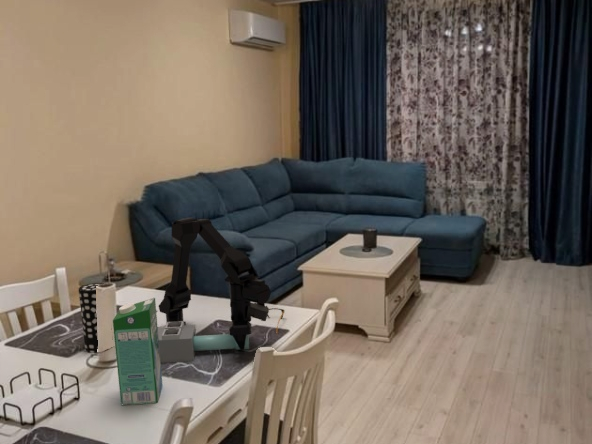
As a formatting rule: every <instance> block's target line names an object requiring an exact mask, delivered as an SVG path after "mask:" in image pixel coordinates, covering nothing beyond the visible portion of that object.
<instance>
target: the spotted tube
mask: <svg viewBox="0 0 592 444" xmlns="http://www.w3.org/2000/svg"><path fill="white" fill-rule="evenodd" d="M102 284H105V282H104V283H103V282H94V283H87V284H84V285H82V286H79V287H78V297H79V298H78V299H79V306H80V307H79V308H80V314H81V315H80V316H81V324H82V334H83V341H84V349H85V352H87V353H89V354H98V353H97V349H98V340H97V314H96V286H98V285H102Z"/></svg>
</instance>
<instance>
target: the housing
mask: <svg viewBox="0 0 592 444" xmlns="http://www.w3.org/2000/svg"><path fill="white" fill-rule="evenodd" d="M178 322H180V327H169V323H170V322H166V325H165V326H158V338H159V350H160V361H161V364H162V363H163V364H164V363H179V362H181V363H182V362H194V358H195V355H196V351H194V348H193V336H197V328H196V324H185V325H184V322H185V321H184V320H183V321H178ZM172 328H174V329H177V334H171V335H166V330H168V329H172Z"/></svg>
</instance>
